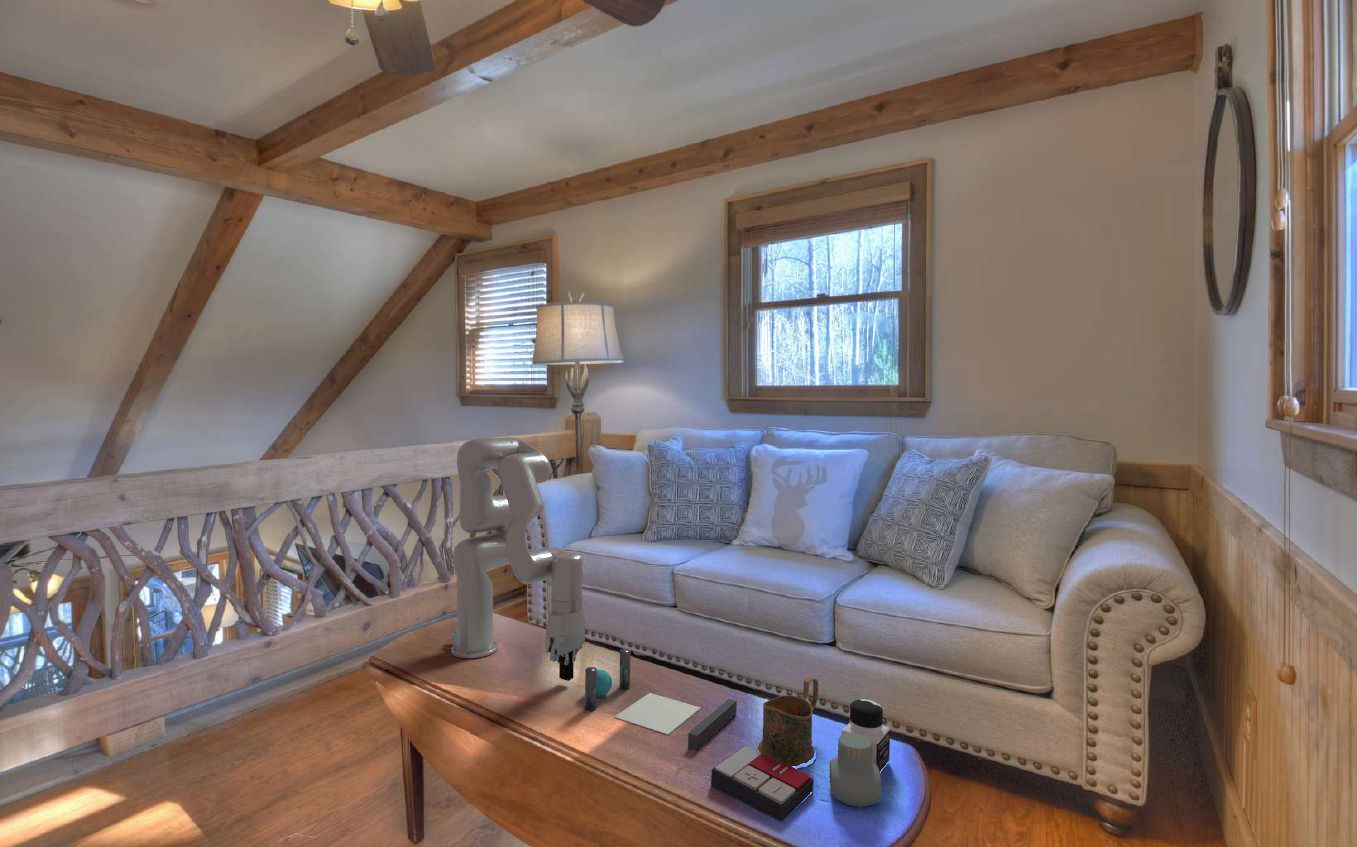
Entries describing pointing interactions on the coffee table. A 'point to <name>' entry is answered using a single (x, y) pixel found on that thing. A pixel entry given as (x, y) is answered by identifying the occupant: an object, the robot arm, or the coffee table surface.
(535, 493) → the robot arm
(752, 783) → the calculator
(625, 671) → the post
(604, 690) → the ball
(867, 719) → the medicine bottle
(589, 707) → the post
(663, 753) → the coffee table surface
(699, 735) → the wall
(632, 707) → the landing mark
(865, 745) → the air freshener
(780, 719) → the mug
